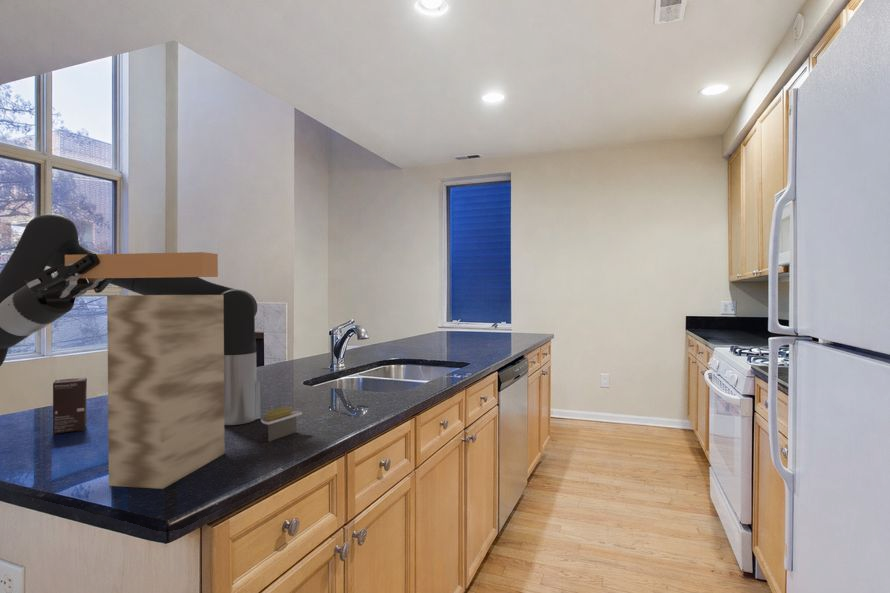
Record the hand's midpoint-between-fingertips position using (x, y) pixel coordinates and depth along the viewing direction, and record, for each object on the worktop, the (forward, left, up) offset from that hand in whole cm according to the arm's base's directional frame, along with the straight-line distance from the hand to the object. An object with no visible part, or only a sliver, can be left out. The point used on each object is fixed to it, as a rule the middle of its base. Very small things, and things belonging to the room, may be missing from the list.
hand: (107, 258), depth 82 cm
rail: (-3, +6, -3) cm, 7 cm away
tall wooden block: (-8, +5, -38) cm, 40 cm away
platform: (-32, +4, -39) cm, 50 cm away
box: (-4, -40, -39) cm, 56 cm away
